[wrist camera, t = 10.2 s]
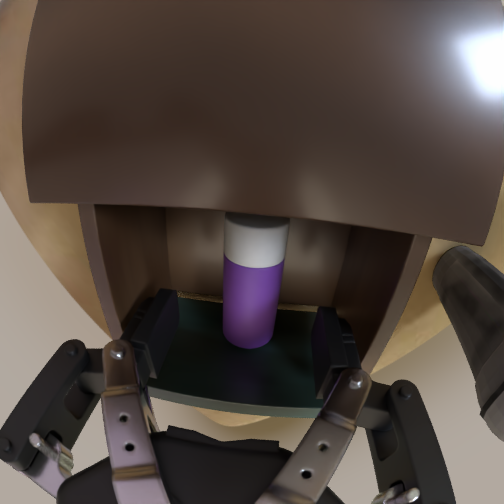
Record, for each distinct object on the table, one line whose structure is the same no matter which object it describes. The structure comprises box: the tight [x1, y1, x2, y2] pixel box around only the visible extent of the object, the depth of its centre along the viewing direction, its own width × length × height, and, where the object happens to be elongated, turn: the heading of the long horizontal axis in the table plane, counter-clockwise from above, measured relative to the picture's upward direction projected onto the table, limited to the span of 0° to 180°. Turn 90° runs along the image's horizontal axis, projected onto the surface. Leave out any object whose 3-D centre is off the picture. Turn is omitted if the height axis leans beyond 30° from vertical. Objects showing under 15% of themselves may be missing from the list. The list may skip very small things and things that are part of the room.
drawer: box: [78, 204, 432, 418], centre depth 14 cm, size 19×14×8 cm
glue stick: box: [223, 212, 290, 349], centre depth 15 cm, size 8×3×3 cm, turn 176°
